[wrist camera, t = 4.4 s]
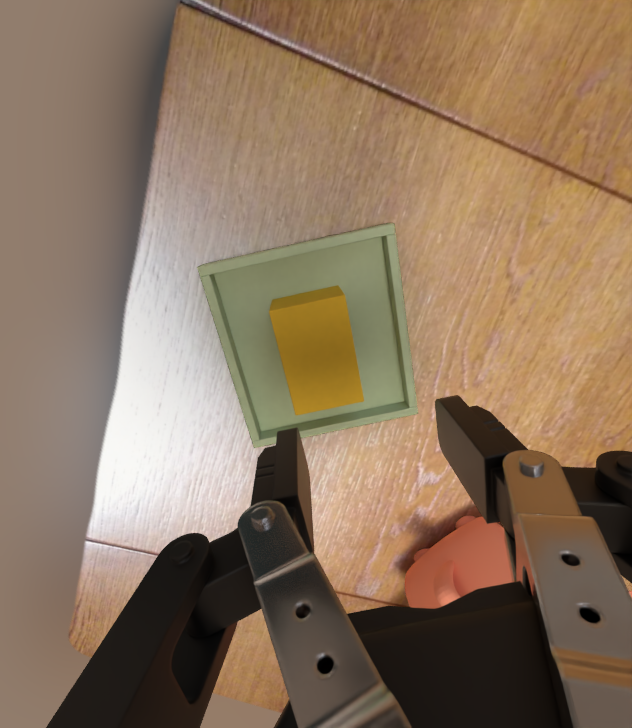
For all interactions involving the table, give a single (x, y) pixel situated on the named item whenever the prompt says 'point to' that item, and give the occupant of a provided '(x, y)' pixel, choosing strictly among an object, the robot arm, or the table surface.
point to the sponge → (317, 349)
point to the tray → (367, 319)
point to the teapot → (459, 564)
